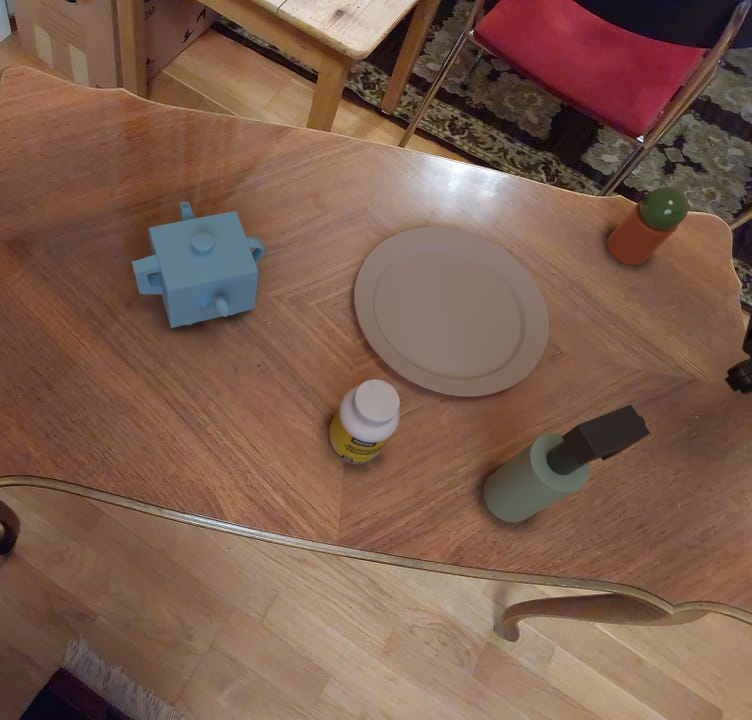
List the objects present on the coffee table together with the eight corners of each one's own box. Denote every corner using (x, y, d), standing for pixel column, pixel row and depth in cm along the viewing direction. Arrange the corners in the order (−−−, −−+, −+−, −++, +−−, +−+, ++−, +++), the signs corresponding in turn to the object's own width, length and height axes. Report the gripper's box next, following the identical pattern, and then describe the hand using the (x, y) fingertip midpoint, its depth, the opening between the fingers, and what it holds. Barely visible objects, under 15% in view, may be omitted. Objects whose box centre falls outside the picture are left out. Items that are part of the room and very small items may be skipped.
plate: (382, 417, 78) (386, 411, 76) (330, 246, 89) (332, 237, 88) (573, 385, 83) (581, 378, 81) (501, 225, 94) (506, 216, 92)
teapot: (241, 232, 89) (245, 173, 79) (282, 344, 82) (293, 294, 72) (126, 255, 86) (115, 197, 76) (158, 374, 78) (150, 327, 68)
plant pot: (643, 234, 95) (694, 179, 85) (651, 267, 92) (705, 215, 82) (603, 229, 95) (649, 174, 85) (610, 262, 92) (658, 210, 82)
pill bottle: (323, 460, 75) (342, 422, 65) (330, 409, 78) (349, 365, 68) (379, 470, 75) (406, 435, 65) (383, 419, 78) (410, 377, 68)
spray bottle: (534, 457, 78) (630, 386, 60) (561, 504, 75) (670, 444, 57) (473, 481, 76) (554, 415, 58) (499, 530, 73) (592, 477, 55)
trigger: (597, 434, 67) (625, 415, 63) (612, 457, 66) (641, 440, 62) (588, 438, 67) (615, 419, 63) (602, 461, 66) (631, 444, 62)
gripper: (851, 257, 65) (717, 304, 61) (954, 369, 60) (815, 429, 56) (792, 297, 72) (668, 342, 68) (880, 401, 67) (751, 457, 63)
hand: (735, 381), depth 62 cm, fingers closed
